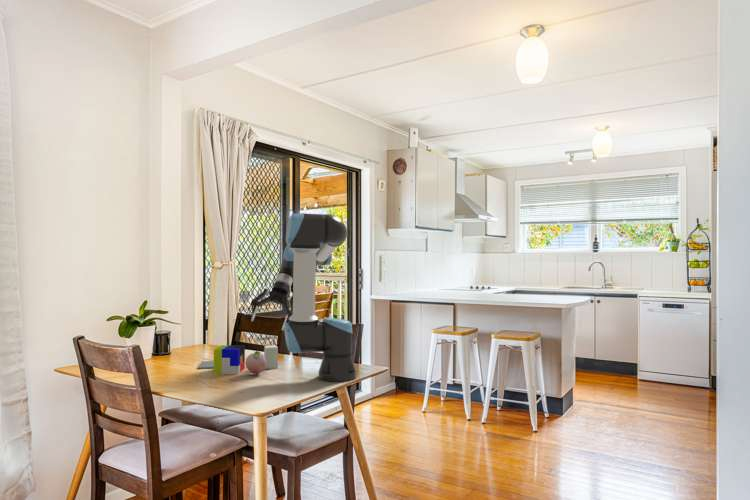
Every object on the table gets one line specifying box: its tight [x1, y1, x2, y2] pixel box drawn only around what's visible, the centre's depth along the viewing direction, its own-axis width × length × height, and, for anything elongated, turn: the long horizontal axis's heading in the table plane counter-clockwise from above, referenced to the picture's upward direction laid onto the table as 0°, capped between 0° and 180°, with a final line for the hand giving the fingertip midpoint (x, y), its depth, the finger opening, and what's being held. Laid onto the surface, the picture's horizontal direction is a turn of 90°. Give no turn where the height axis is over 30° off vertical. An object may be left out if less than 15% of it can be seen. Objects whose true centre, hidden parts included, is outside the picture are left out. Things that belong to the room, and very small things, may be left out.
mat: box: [197, 360, 214, 370], centre depth 224 cm, size 13×13×1 cm
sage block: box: [263, 344, 279, 370], centre depth 220 cm, size 5×5×9 cm
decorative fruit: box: [245, 349, 267, 376], centre depth 206 cm, size 9×8×10 cm
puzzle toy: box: [213, 344, 246, 375], centre depth 213 cm, size 10×10×10 cm
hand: (267, 324), depth 220 cm, fingers open, 13 cm apart
